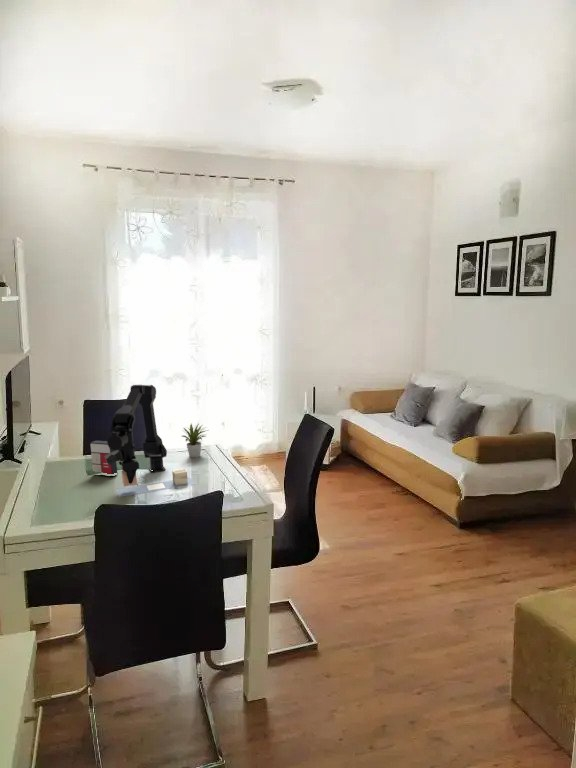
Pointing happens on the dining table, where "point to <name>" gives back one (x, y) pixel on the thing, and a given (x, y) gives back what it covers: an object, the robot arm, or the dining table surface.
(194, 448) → the house plant
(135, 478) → the terracotta block
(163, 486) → the baseplate
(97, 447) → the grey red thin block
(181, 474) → the beech block
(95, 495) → the dining table surface
